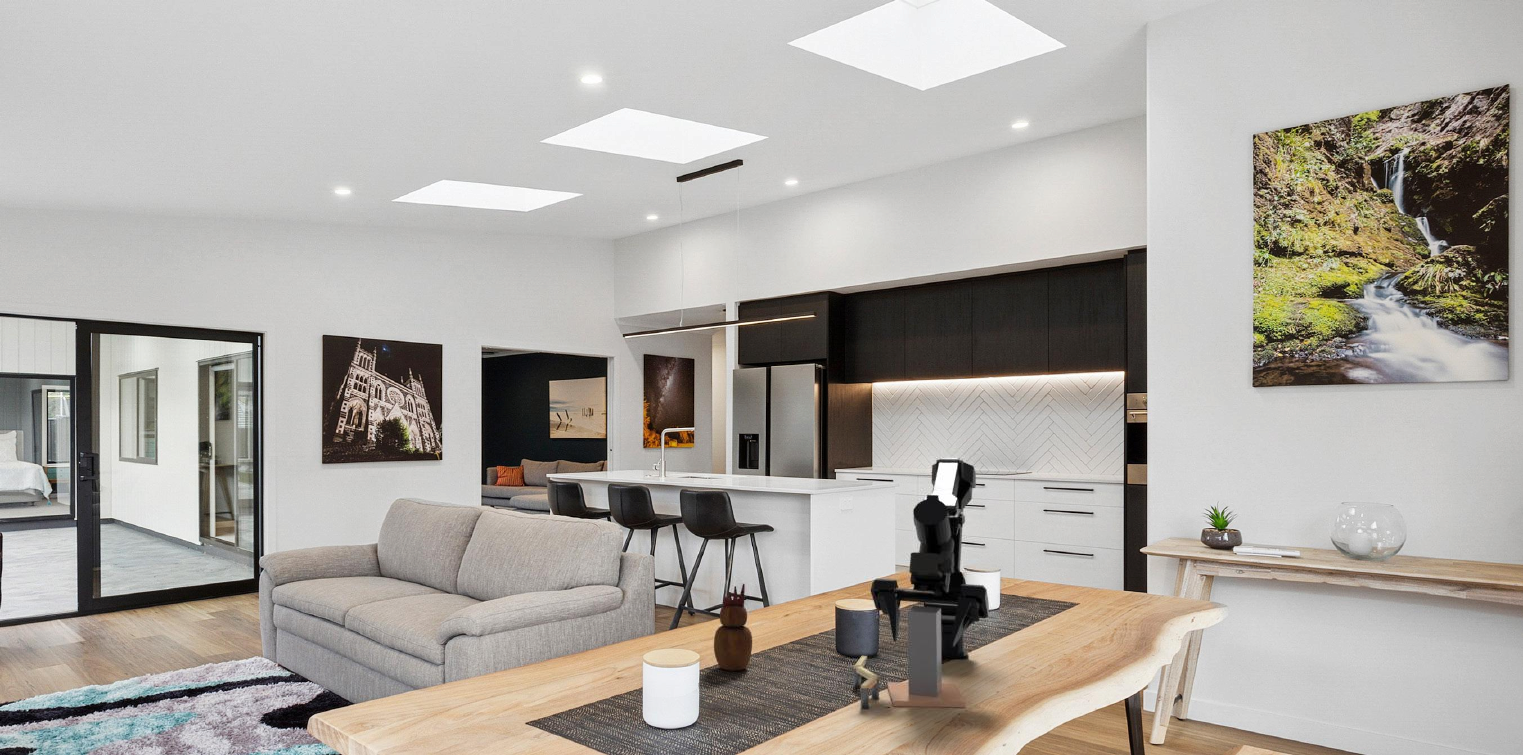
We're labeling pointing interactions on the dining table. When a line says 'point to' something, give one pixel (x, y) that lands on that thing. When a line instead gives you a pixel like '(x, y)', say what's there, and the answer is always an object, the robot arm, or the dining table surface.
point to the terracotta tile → (945, 698)
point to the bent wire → (871, 683)
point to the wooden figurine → (733, 634)
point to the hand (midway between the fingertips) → (923, 642)
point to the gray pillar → (924, 651)
